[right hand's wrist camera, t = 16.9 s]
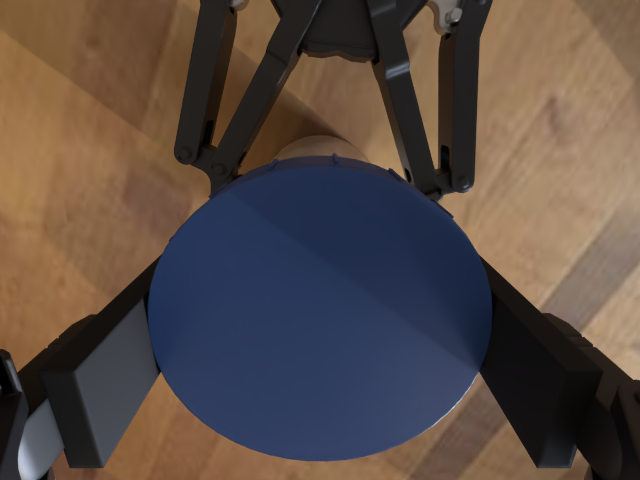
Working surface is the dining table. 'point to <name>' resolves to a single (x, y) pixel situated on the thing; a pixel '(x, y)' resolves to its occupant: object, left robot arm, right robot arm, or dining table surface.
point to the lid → (320, 310)
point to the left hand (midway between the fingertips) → (312, 286)
